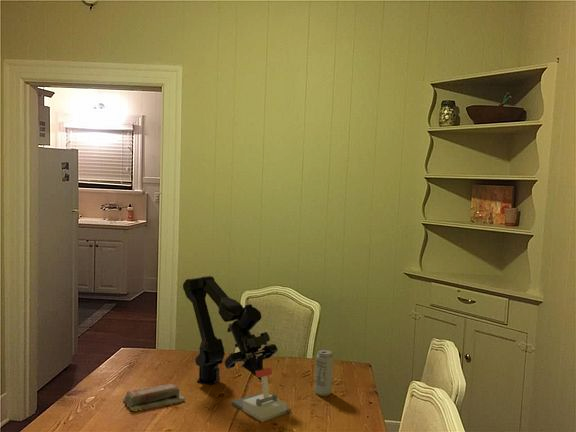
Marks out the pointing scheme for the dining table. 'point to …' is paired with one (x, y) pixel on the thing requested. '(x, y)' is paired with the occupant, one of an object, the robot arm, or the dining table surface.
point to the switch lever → (265, 383)
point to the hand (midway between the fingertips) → (262, 379)
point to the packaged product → (153, 397)
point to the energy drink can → (324, 372)
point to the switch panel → (262, 407)
